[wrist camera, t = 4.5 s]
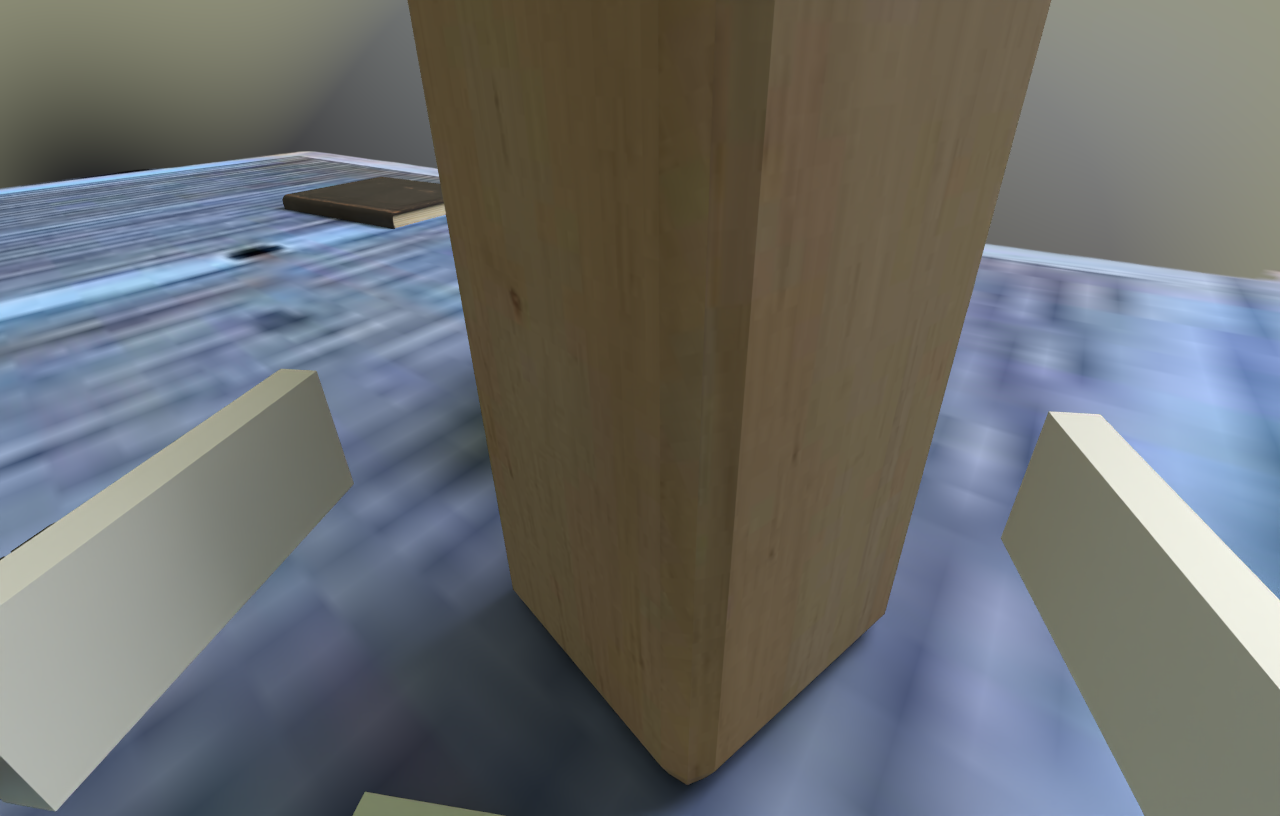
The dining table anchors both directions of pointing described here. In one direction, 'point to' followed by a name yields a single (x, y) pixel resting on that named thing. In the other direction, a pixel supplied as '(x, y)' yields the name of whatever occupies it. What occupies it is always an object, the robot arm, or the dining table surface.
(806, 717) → the dining table surface
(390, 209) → the hardcover book
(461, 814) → the mat
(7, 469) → the dining table surface
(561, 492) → the wooden block
